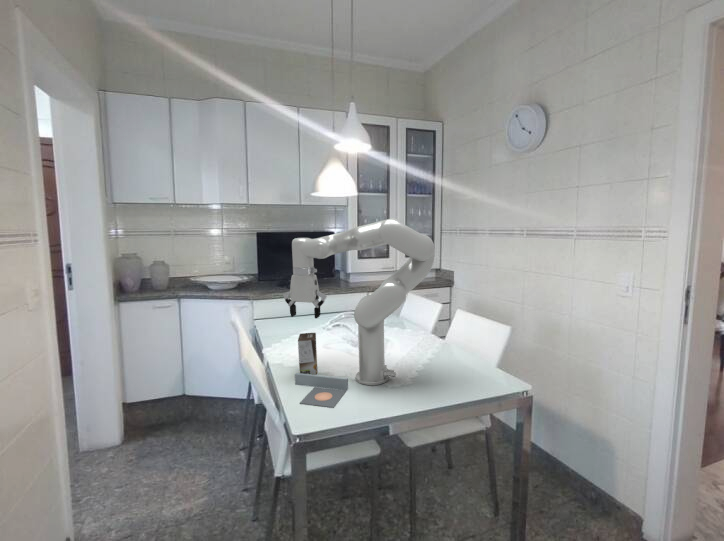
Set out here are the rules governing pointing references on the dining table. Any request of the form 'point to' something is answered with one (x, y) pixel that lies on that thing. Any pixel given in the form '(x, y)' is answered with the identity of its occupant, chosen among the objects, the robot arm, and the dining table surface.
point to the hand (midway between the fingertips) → (305, 316)
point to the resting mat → (323, 397)
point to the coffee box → (307, 353)
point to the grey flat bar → (321, 381)
